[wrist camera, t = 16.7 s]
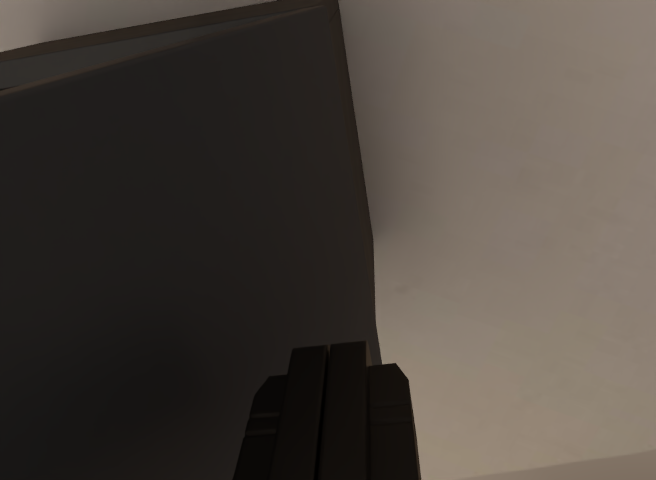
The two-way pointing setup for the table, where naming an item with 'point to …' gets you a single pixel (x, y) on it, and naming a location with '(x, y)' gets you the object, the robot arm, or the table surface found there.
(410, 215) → the table surface
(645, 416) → the table surface
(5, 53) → the trash bin
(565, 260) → the table surface
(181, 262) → the bin lid
